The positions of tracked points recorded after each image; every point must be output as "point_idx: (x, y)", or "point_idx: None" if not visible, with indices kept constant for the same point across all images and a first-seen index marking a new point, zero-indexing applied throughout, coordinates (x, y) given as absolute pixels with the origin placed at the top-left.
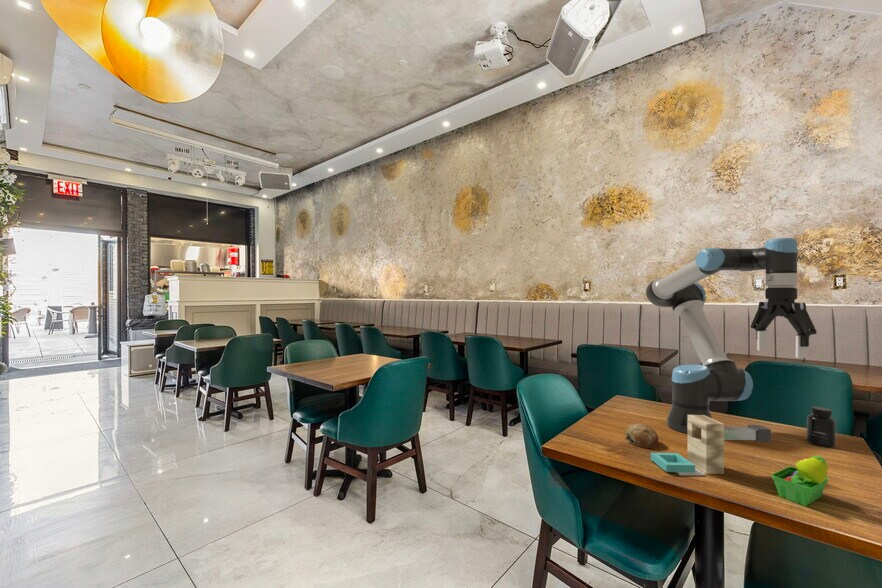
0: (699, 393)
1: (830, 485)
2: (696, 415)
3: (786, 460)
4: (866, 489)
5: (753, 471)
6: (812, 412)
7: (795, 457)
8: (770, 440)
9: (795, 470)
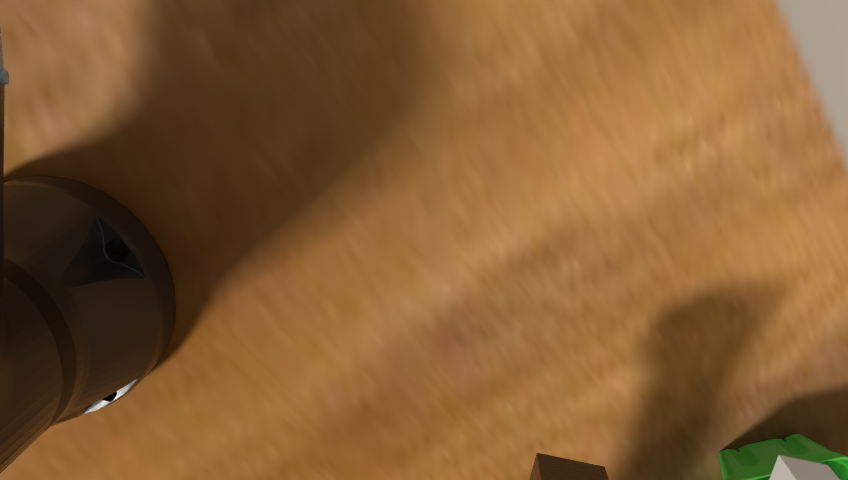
0: (3, 441)
1: (751, 289)
2: None
3: (514, 205)
4: (825, 176)
5: None
6: None
7: (495, 118)
8: (606, 474)
9: (737, 477)
